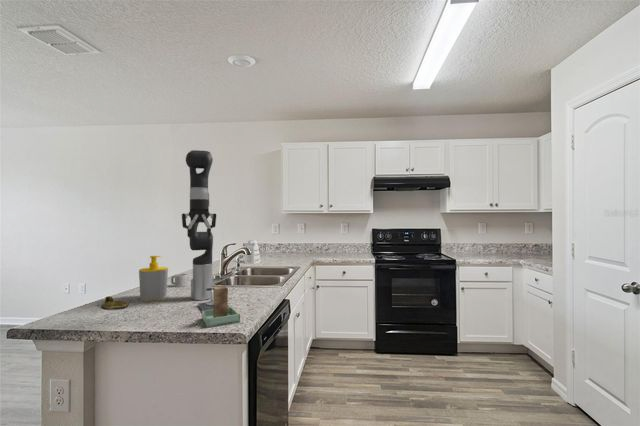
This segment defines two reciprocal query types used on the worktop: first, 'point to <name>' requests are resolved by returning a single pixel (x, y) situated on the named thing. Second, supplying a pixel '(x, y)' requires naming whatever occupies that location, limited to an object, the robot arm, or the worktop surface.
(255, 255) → the grater
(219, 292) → the brown wooden block
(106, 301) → the seal
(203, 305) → the crank bed
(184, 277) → the mug
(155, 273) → the soap bottle
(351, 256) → the worktop surface
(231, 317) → the tray
